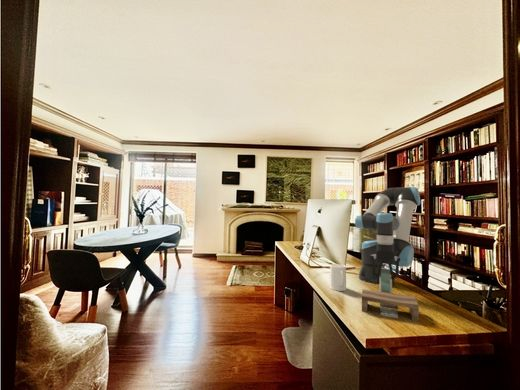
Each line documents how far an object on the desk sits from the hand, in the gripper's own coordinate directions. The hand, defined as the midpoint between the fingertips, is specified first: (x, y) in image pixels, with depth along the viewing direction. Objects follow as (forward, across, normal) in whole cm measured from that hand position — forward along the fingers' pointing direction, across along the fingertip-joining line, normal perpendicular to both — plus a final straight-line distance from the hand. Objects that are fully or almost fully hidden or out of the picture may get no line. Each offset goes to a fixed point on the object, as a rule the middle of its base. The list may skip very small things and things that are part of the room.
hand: (385, 290), depth 121 cm
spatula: (+2, 0, -8) cm, 8 cm away
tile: (+2, 0, -26) cm, 26 cm away
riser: (+2, 0, -23) cm, 23 cm away
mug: (+2, -22, -4) cm, 22 cm away
